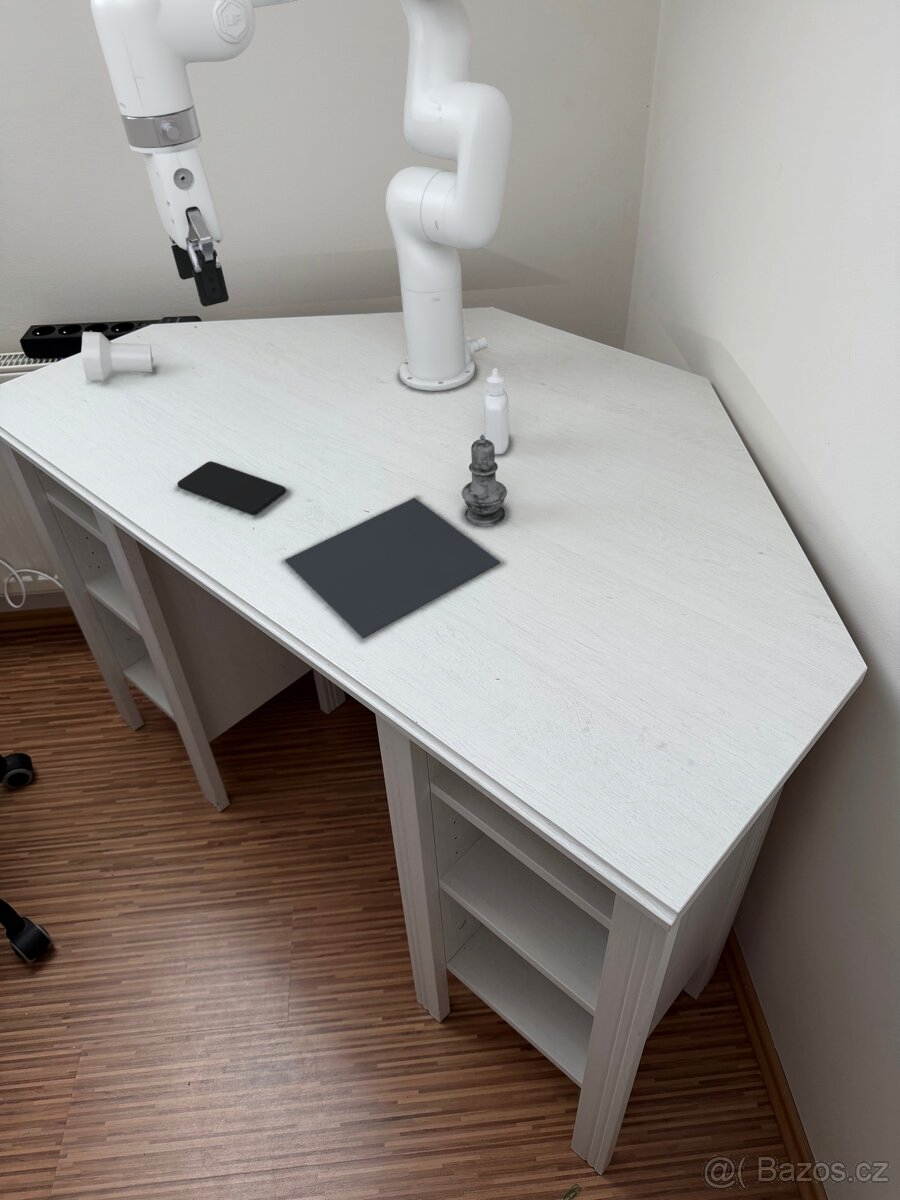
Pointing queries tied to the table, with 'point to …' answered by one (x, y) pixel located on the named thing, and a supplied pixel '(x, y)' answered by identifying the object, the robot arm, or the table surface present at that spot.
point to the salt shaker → (484, 487)
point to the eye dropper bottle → (496, 413)
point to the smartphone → (232, 487)
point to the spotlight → (113, 356)
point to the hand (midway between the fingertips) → (204, 289)
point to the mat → (390, 565)
